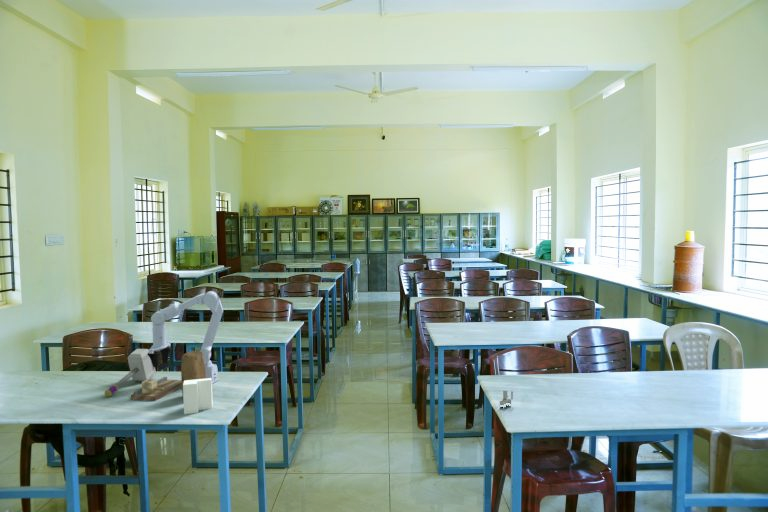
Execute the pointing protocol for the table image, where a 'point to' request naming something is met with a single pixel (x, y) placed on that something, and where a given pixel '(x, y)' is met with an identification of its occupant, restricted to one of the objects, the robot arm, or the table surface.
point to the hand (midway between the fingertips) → (160, 365)
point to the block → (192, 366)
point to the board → (162, 383)
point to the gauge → (150, 386)
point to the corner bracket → (197, 395)
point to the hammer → (136, 369)
